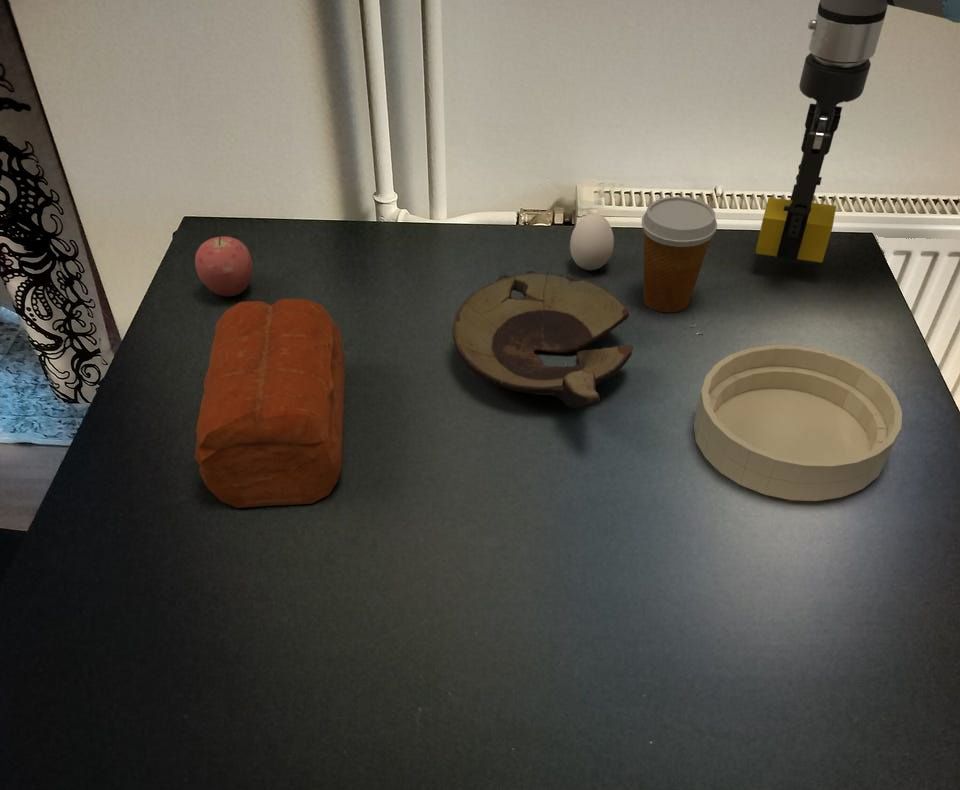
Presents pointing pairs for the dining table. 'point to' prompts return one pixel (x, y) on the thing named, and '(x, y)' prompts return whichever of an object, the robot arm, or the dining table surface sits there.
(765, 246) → the sponge
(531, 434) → the dining table surface
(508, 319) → the broken ceramic plate
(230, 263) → the apple
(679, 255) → the disposable coffee cup
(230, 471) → the bread
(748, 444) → the bowl
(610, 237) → the egg
